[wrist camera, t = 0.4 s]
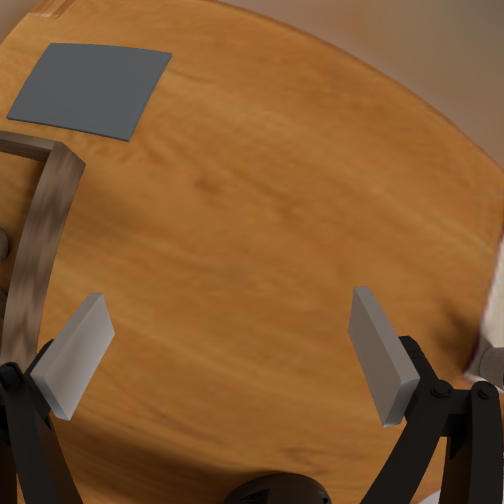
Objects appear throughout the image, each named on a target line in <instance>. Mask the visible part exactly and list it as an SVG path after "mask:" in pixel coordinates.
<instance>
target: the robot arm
mask: <svg viewBox="0 0 504 504" xmlns="http://www.w3.org/2000/svg"><path fill="white" fill-rule="evenodd" d="M348 332H349V335H350V337H351V340H352V343H353V345H354V348H355V350H356V353H357V356H358V358H359V361H360V364H361V366H362V369H363V372H364V374H365V377H366V380H367V383H368V385H369V388H370V391H371V394H372V397H373V400H374V402H375V405H376V408H377V411H378V414H379V417H380V420H381V423H382V426H383V427H387V426H392V425H397V424H400V423H401V421H402V419H403V417H404V416H405V418H406V421H407V424H406V426H405V428H404V430H403V432H402V434H401V436H400V438H399V440H398V441H397V443H396V445H395V447H394V449H393V451H392V452H391V454H390V456H389V458H388V459H387V461H386V463H385V465H384V466H383V468H382V470H381V471H380V473H379V475H378V476H377V478H376V479H375V481H374V483H373V484H372V486H371V487H370V489H369V490H368V492H367V493H366V495H365V496H364V498H363V499H362V501H361V502H360V504H409V503H410V501H411V499H412V498H413V496H414V494H415V492H416V490H417V488H418V486H419V484H420V482H421V480H422V478H423V475H424V473H425V471H426V469H427V467H428V465H429V462H430V460H431V458H432V455H433V453H434V451H435V448H436V446H437V443H438V441H439V438H440V437H447V445H446V456H445V464H444V472H443V479H442V486H441V492H440V498H439V503H438V504H502V500H503V479H504V477H503V476H504V458H503V457H504V456H503V432H502V419H501V409H500V400H499V393H498V390H497V388H496V387H495V386H494V385H493V384H491V383H490V382H487V381H478V382H476V383H474V385H473V386H472V388H471V390H458V389H453V387H452V386H451V385H450V384H449V383H448V382H446V381H444V380H440V379H438V377H437V376H436V374H435V372H434V370H433V369H432V367H431V365H430V363H429V362H428V360H427V358H425V355H424V353H423V352H422V351H421V348H420V347H419V345H418V343H417V342H416V341H415V340H414V339H412V338H411V337H410V336H401V337H398V336H397V334H396V332H395V331H394V329H393V327H392V325H391V324H390V322H389V320H388V319H387V317H386V315H385V313H384V312H383V310H382V308H381V307H380V305H379V303H378V302H377V300H376V298H375V297H374V295H373V293H372V292H371V290H370V288H369V287H368V286H367V287H354V293H353V300H352V308H351V315H350V322H349V328H348ZM114 335H115V333H114V330H113V327H112V324H111V320H110V317H109V314H108V311H107V307H106V304H105V300H104V297H103V293H90V295H89V296H88V297H87V298H86V299H85V301H84V302H83V303H82V304H81V306H80V307H79V308H78V310H77V311H76V312H75V313H74V315H73V316H72V317H71V318H70V320H69V321H68V322H67V324H66V325H65V326H64V328H63V329H62V330H61V332H60V333H59V334H58V336H57V337H56V338H55V340H54V339H52V340H50V341H49V342H48V343H46V344H45V345H44V346H43V347H42V349H41V350H40V351H39V353H38V354H37V356H36V357H35V359H34V360H33V361H32V362H31V364H30V365H29V367H28V368H27V370H26V371H25V372H24V374H23V373H22V371H21V369H20V367H19V366H18V364H17V363H15V362H6V363H4V364H2V365H1V366H0V384H1V386H0V504H17V480H16V470H17V474H18V478H19V482H20V485H21V489H22V493H23V496H24V499H25V503H26V504H83V502H82V500H81V497H80V495H79V493H78V491H77V489H76V486H75V484H74V482H73V479H72V477H71V474H70V472H69V469H68V467H67V464H66V462H65V459H64V456H63V454H62V451H61V448H60V445H59V442H58V439H57V436H56V433H55V430H54V427H53V423H52V420H51V418H50V416H49V415H48V414H49V412H50V410H52V411H53V413H54V414H55V416H56V417H57V418H61V419H65V420H69V421H70V419H71V417H72V415H73V413H74V411H75V409H76V407H77V405H78V403H79V401H80V399H81V397H82V395H83V393H84V391H85V389H86V387H87V385H88V383H89V381H90V379H91V377H92V375H93V373H94V372H95V370H96V368H97V366H98V364H99V362H100V360H101V358H102V357H103V355H104V353H105V351H106V349H107V347H108V346H109V344H110V342H111V340H112V338H113V337H114ZM223 504H332V502H331V499H330V497H329V496H328V494H327V492H326V490H325V489H324V487H323V486H322V485H321V484H320V483H318V482H317V481H315V480H314V479H311V478H309V477H306V476H302V475H296V474H276V475H269V476H265V477H261V478H258V479H255V480H252V481H250V482H247V483H245V484H243V485H242V486H240V487H238V488H237V489H236V490H234V491H233V492H232V493H231V494H230V495H229V496H228V497H227V498H226V500H225V501H224V503H223Z"/></svg>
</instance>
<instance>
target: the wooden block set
mask: <svg viewBox="0 0 504 504" xmlns="http://www.w3.org/2000/svg"><path fill="white" fill-rule="evenodd" d="M8 250H9V242H8V237H7V234H6V232H5V231H4V230H3V229H0V261H1V260H4V259H5V258H6V257H7V254H8ZM6 304H7V296H6V295H5V293H4V292H3V290H2V289H1V287H0V316H1V317H5V310H6Z"/></svg>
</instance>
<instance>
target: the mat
mask: <svg viewBox="0 0 504 504" xmlns="http://www.w3.org/2000/svg"><path fill="white" fill-rule="evenodd" d="M171 57H172V53H167V52H161V51H154V50H147V49H139V48H130V47H120V46H109V45H94V44H68V43H50V45H49V46H48V48H47V49H46V51H45V52H44V54H43V55H42V57H41V58H40V60H39V61H38V63H37V64H36V66H35V68H34V69H33V71H32V72H31V74H30V76H29V77H28V79H27V81H26V82H25V84H24V86H23V88H22V89H21V91H20V93H19V95H18V96H17V98H16V100H15V102H14V104H13V106H12V108H11V110H10V112H9V114H8V116H7V119H10V120H17V121H24V122H30V123H36V124H42V125H48V126H54V127H59V128H65V129H70V130H75V131H80V132H85V133H90V134H95V135H100V136H104V137H109V138H114V139H118V140H123V141H127V142H129V141H130V139H131V137H132V134H133V132H134V130H135V128H136V125H137V123H138V121H139V119H140V117H141V115H142V113H143V110H144V108H145V106H146V104H147V102H148V100H149V98H150V96H151V94H152V92H153V90H154V88H155V86H156V84H157V82H158V81H159V79H160V77H161V75H162V73H163V71H164V69H165V68H166V66H167V64H168V62H169V60H170V59H171Z"/></svg>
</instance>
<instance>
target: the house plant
mask: <svg viewBox="0 0 504 504" xmlns="http://www.w3.org/2000/svg"><path fill="white" fill-rule="evenodd" d="M479 372H480V375H481V377H482V378H484V379H485V380H487V381H489V382H490V383H492V384H493V385H495V386H497V387H498V388H500V389H502V390H503V391H504V347H502V348H490V349H488V350H487V351H486V352H485V353H484V355H483V357H482V359H481V362H480V368H479Z"/></svg>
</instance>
